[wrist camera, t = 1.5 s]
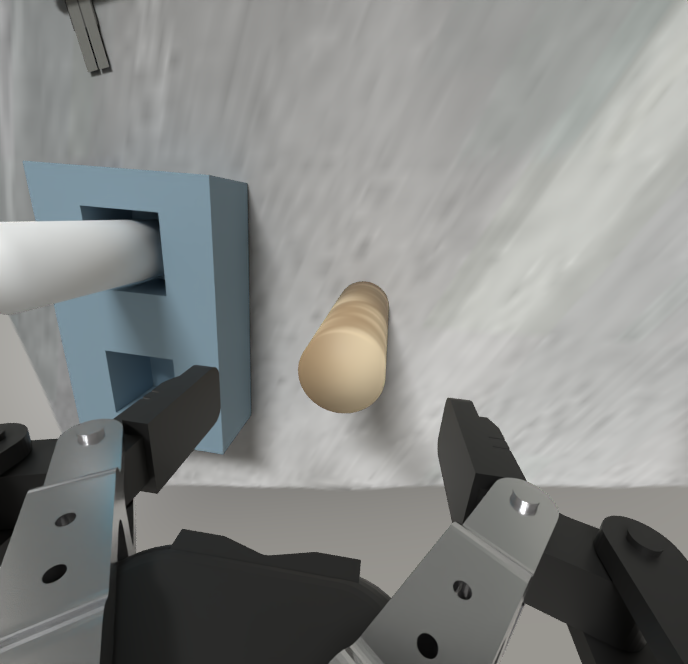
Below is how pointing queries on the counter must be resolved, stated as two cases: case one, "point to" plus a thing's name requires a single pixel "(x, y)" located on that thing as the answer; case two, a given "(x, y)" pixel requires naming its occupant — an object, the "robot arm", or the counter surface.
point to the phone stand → (86, 18)
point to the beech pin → (348, 352)
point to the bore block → (137, 282)
